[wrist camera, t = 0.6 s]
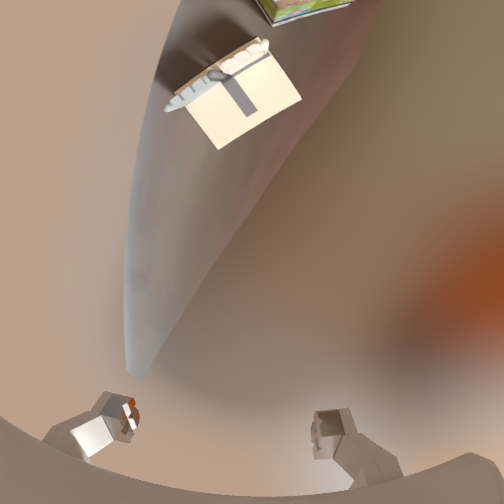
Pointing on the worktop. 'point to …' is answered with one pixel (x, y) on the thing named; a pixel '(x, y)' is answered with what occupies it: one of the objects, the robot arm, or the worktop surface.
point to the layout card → (241, 97)
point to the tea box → (296, 9)
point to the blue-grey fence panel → (191, 93)
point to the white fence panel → (240, 60)
